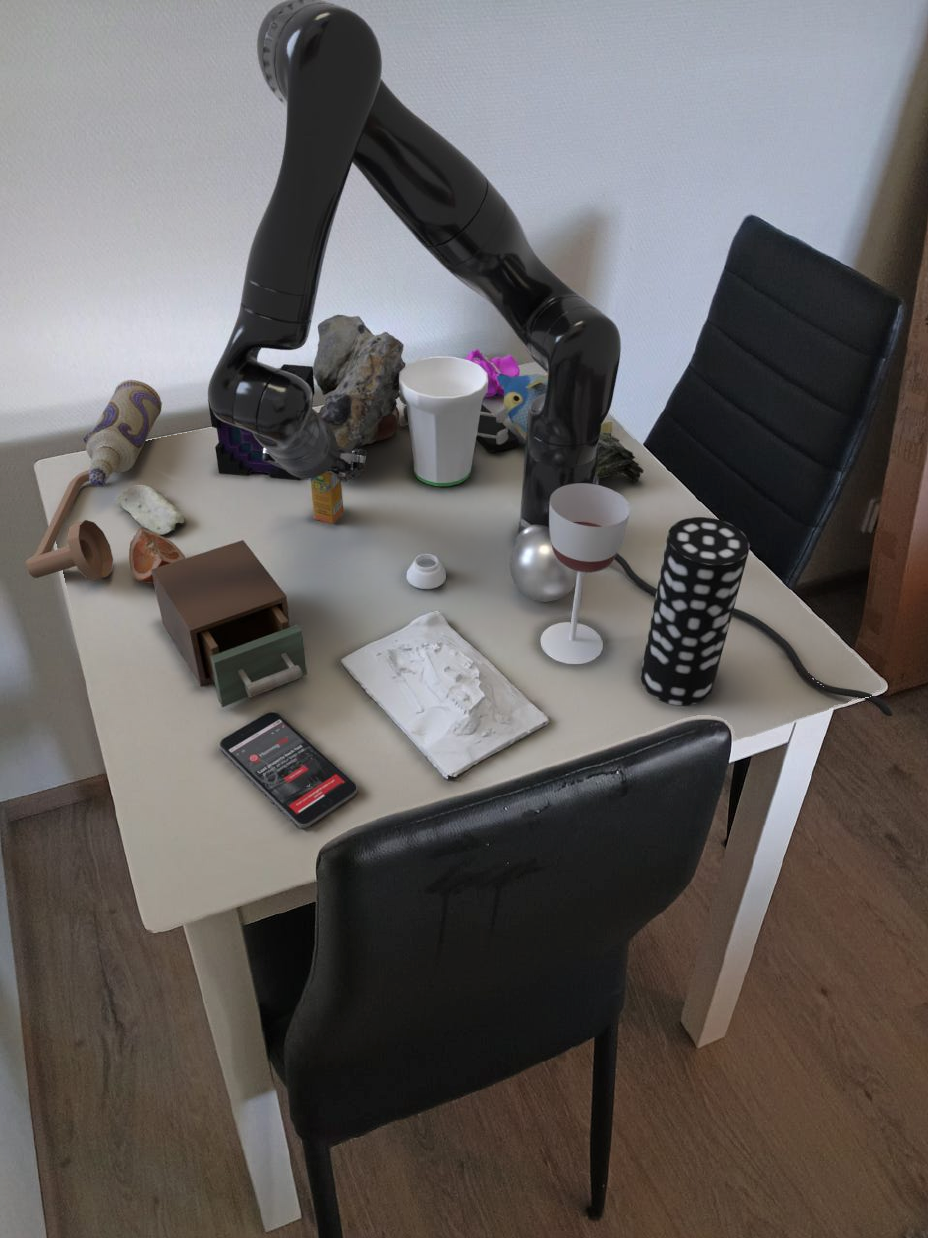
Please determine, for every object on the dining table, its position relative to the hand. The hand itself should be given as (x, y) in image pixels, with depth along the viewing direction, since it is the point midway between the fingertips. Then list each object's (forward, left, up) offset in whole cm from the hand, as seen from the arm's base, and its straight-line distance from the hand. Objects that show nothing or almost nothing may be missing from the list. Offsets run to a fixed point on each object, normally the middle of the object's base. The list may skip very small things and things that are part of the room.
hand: (329, 471), depth 137 cm
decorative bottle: (+35, -11, -4) cm, 37 cm away
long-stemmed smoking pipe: (+26, +19, -7) cm, 32 cm away
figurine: (-17, -24, -1) cm, 30 cm away
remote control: (-11, -29, -6) cm, 32 cm away
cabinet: (-2, +29, -6) cm, 30 cm away
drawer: (-8, +33, -5) cm, 35 cm away
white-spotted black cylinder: (-53, +14, -6) cm, 55 cm away
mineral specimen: (-33, -21, 0) cm, 39 cm away
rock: (-2, -16, +1) cm, 17 cm away
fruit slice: (+13, +22, -6) cm, 26 cm away
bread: (+6, -21, -6) cm, 23 cm away
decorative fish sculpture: (-20, -38, +1) cm, 43 cm away
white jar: (-19, +9, -6) cm, 22 cm away
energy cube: (+15, -8, -6) cm, 18 cm away
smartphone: (-19, +44, -6) cm, 48 cm away
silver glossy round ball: (-37, +7, -4) cm, 38 cm away
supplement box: (-1, +2, -6) cm, 7 cm away
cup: (-10, -15, -6) cm, 19 cm away
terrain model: (-29, +27, -6) cm, 40 cm away
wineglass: (-39, +13, -6) cm, 42 cm away
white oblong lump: (+21, +12, -6) cm, 25 cm away
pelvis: (-7, -41, +1) cm, 42 cm away
